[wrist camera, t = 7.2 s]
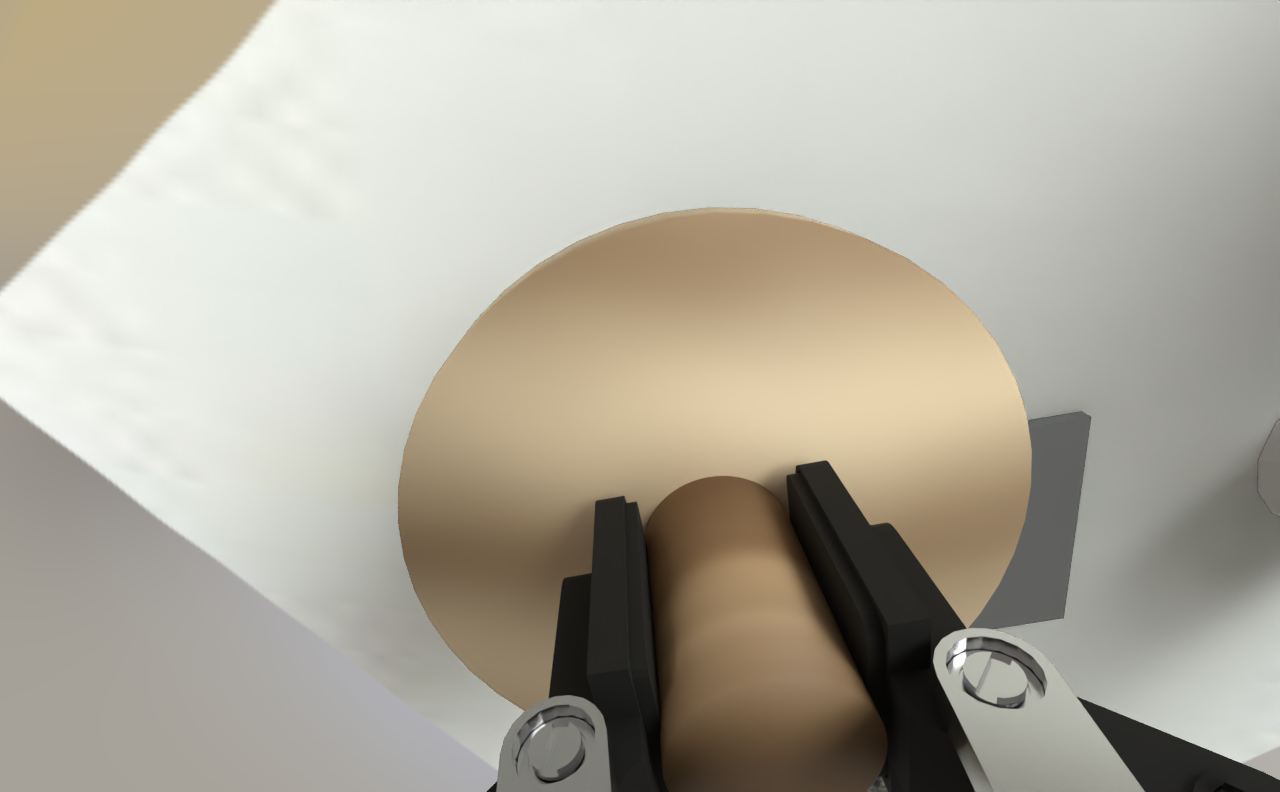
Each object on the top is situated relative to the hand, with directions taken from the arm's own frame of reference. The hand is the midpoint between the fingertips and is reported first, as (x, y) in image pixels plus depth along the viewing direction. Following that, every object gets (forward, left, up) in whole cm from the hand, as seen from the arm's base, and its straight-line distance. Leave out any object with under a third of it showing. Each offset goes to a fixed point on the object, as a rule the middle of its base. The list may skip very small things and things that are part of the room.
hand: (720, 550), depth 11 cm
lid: (0, 0, -2) cm, 2 cm away
